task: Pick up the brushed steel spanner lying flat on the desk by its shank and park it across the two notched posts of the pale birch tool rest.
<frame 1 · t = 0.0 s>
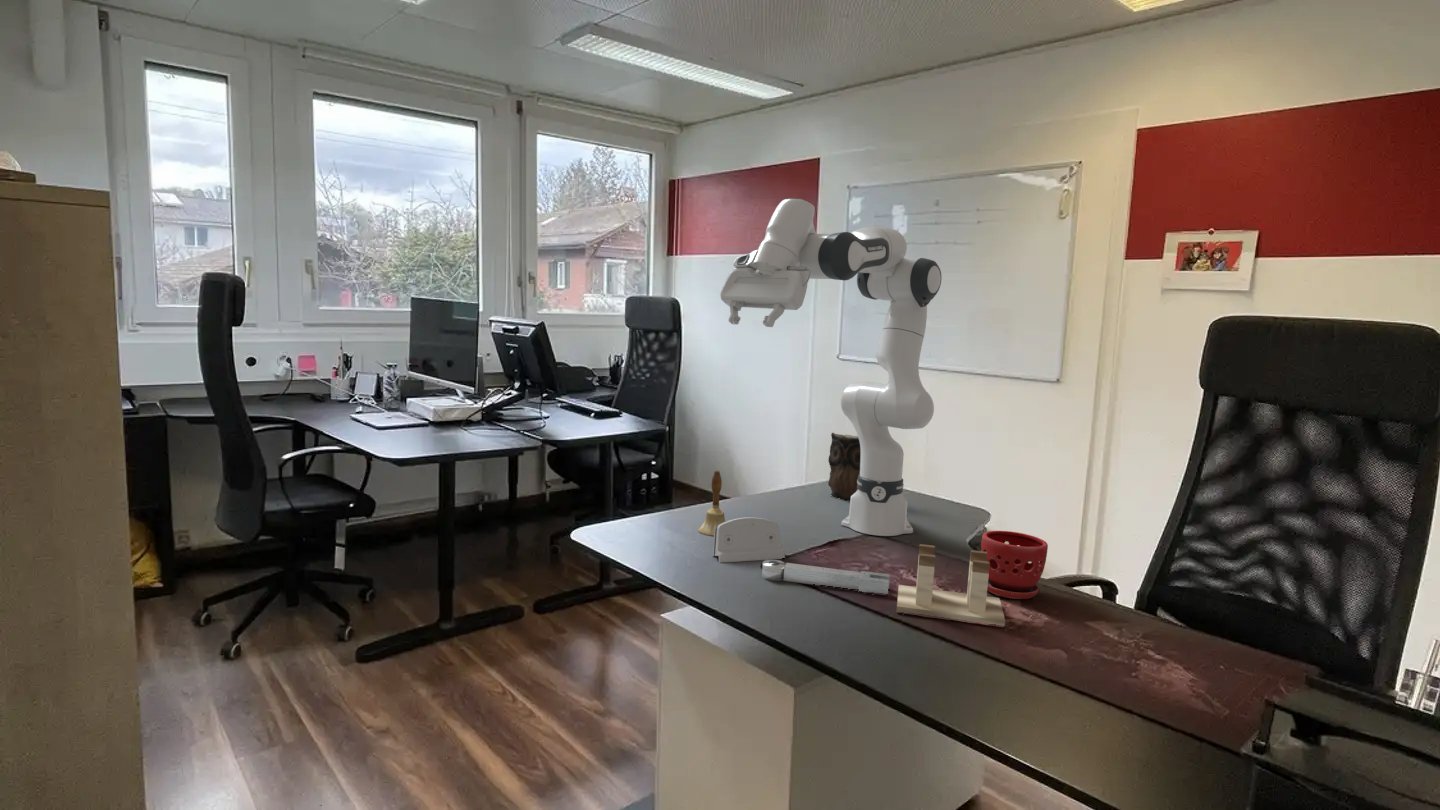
hand: (749, 324, 159), 54 cm above the table, tool tilted 30°, fingers open, 8 cm apart
owl: (853, 497, 240), on the table
hand bell: (714, 532, 199), on the table
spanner: (821, 583, 165), on the table
plant pot: (1009, 592, 165), on the table
tool rest: (948, 609, 154), on the table
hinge: (747, 556, 182), on the table
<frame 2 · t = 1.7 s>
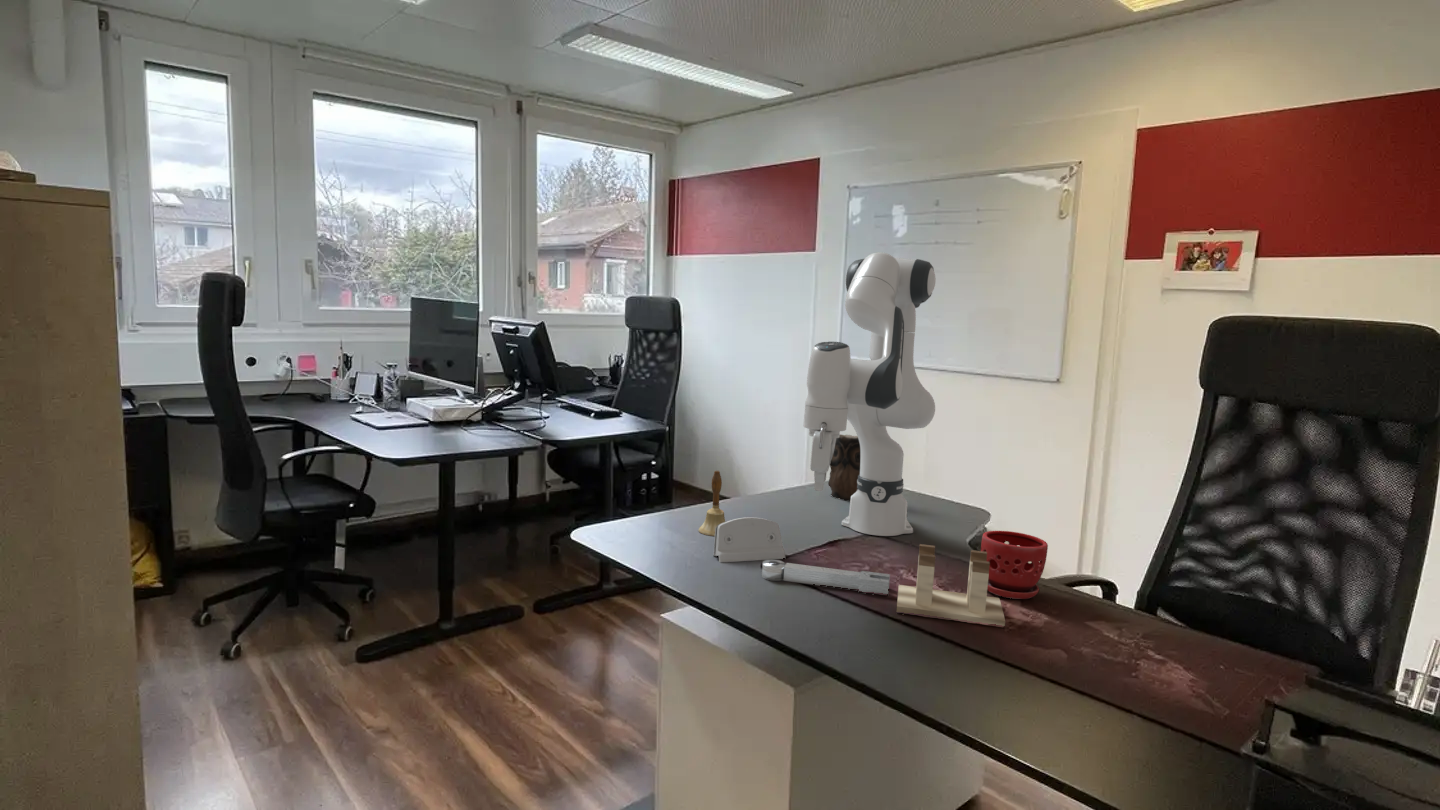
hand: (820, 485, 162), 21 cm above the table, tool pointing down, fingers open, 8 cm apart
nothing on the table moved.
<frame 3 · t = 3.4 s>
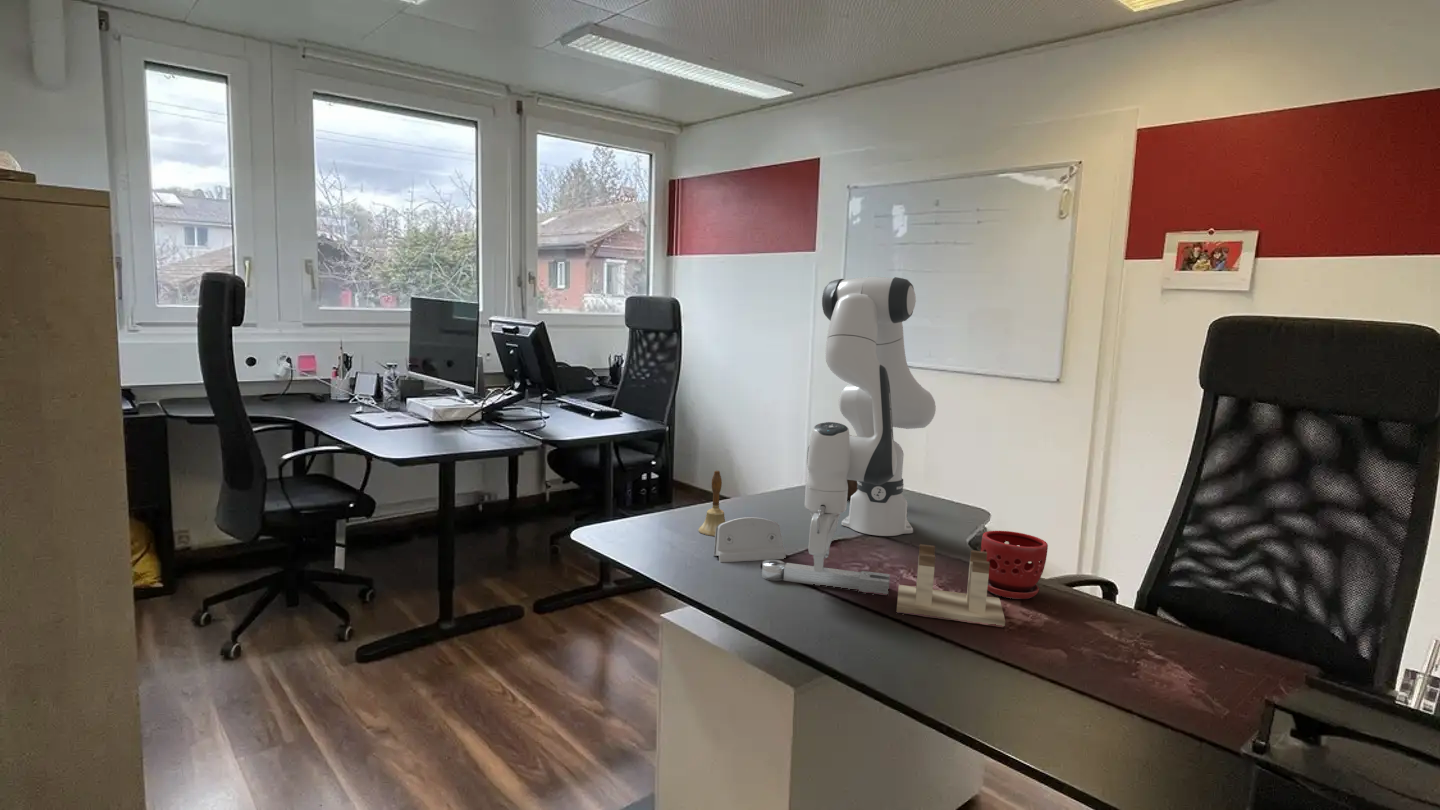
hand: (821, 563, 164), 4 cm above the table, tool pointing down, fingers open, 8 cm apart
nothing on the table moved.
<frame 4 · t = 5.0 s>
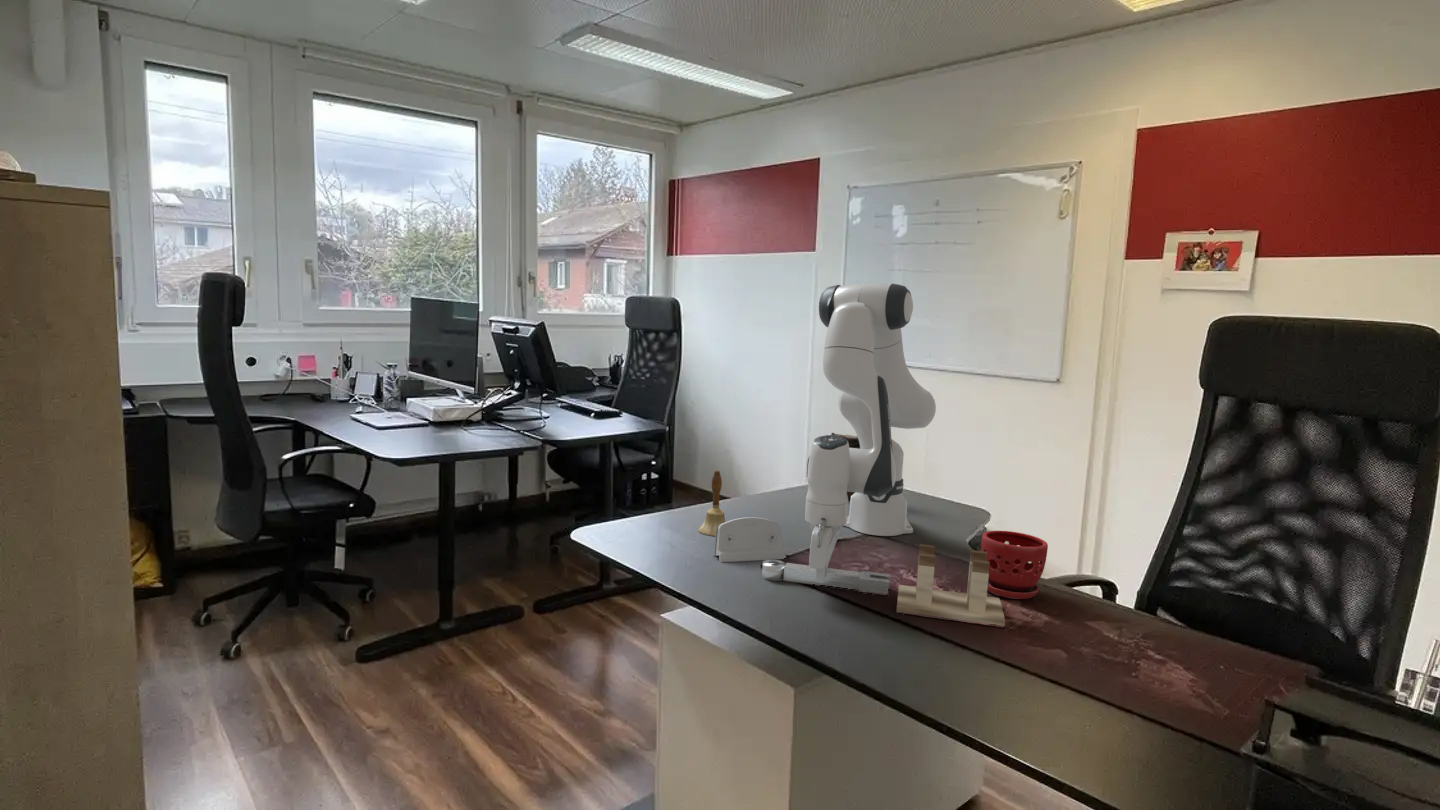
hand: (822, 576, 165), 2 cm above the table, tool pointing down, fingers closed on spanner, 3 cm apart
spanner: (821, 583, 165), on the table, touching gripper
everything else where it was.
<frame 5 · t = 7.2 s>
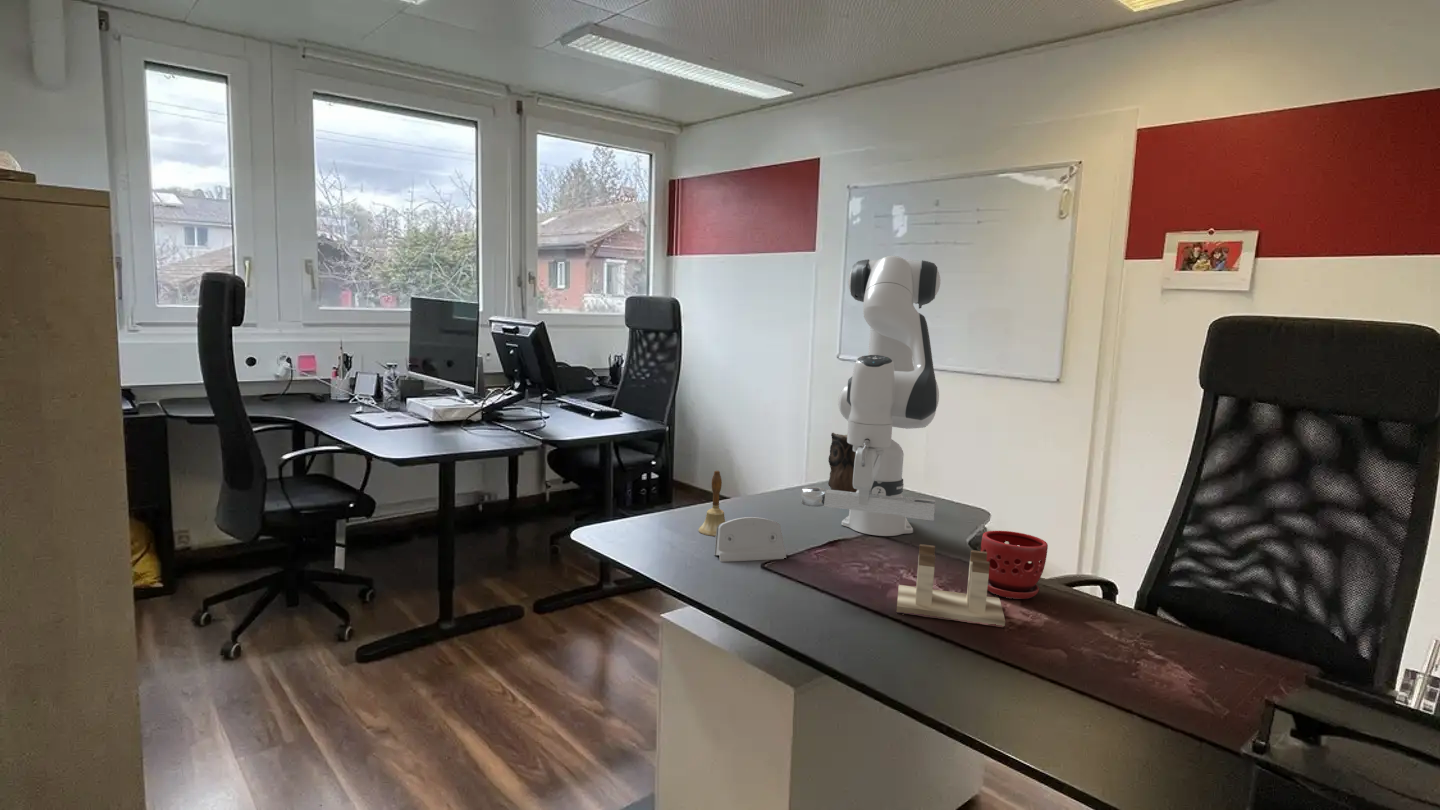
hand: (864, 501, 159), 19 cm above the table, tool pointing down, fingers closed on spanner, 3 cm apart
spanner: (863, 509, 159), point 18 cm above the table, touching gripper
everything else where it was.
when the fingers open (12 cm above the table, at t = 9.4 s): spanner stays where it is, resting on tool rest.
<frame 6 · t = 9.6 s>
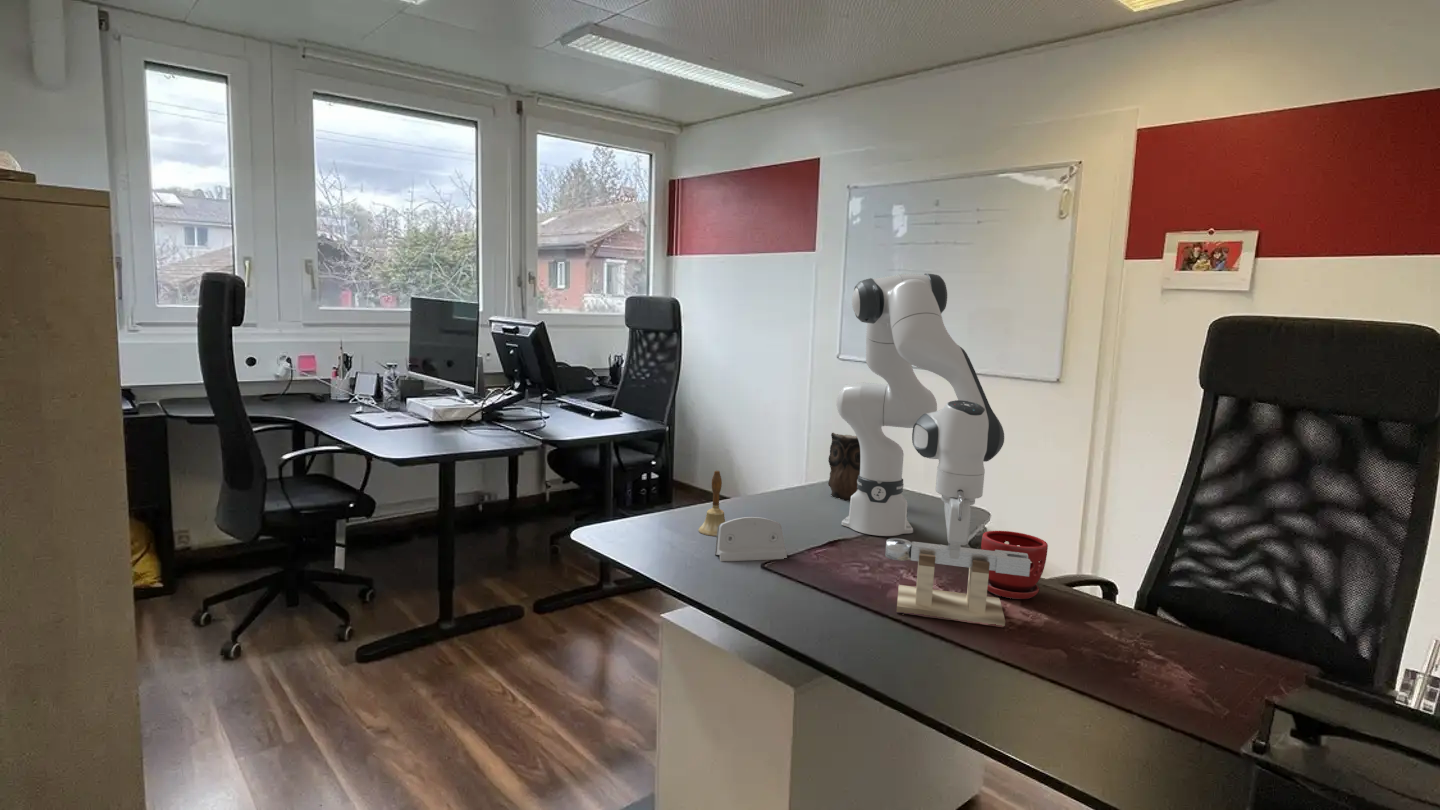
hand: (953, 553, 153), 12 cm above the table, tool pointing down, fingers open, 4 cm apart
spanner: (952, 563, 153), point 9 cm above the table, touching tool rest
everything else where it was.
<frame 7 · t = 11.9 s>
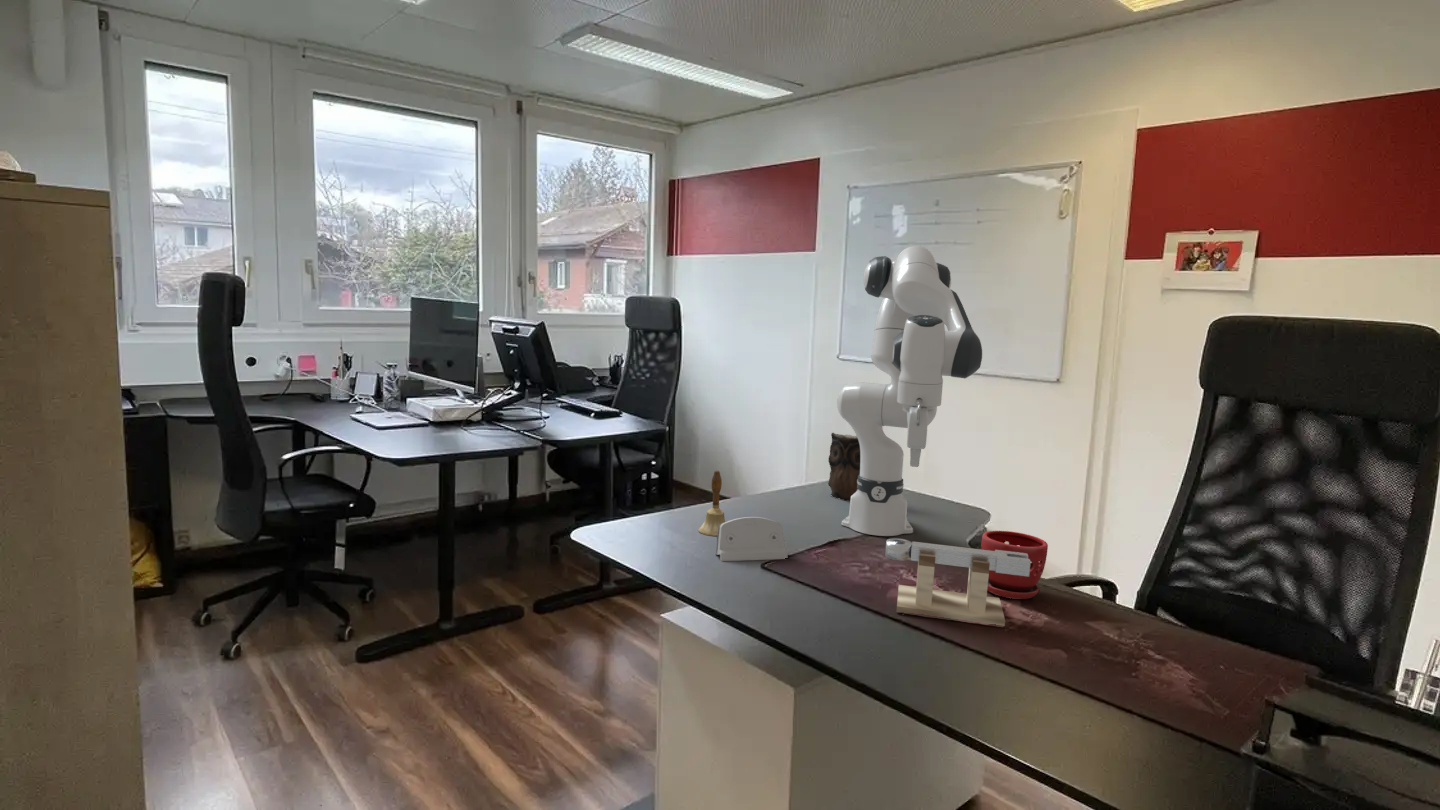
hand: (914, 460, 161), 28 cm above the table, tool pointing down, fingers open, 8 cm apart
nothing on the table moved.
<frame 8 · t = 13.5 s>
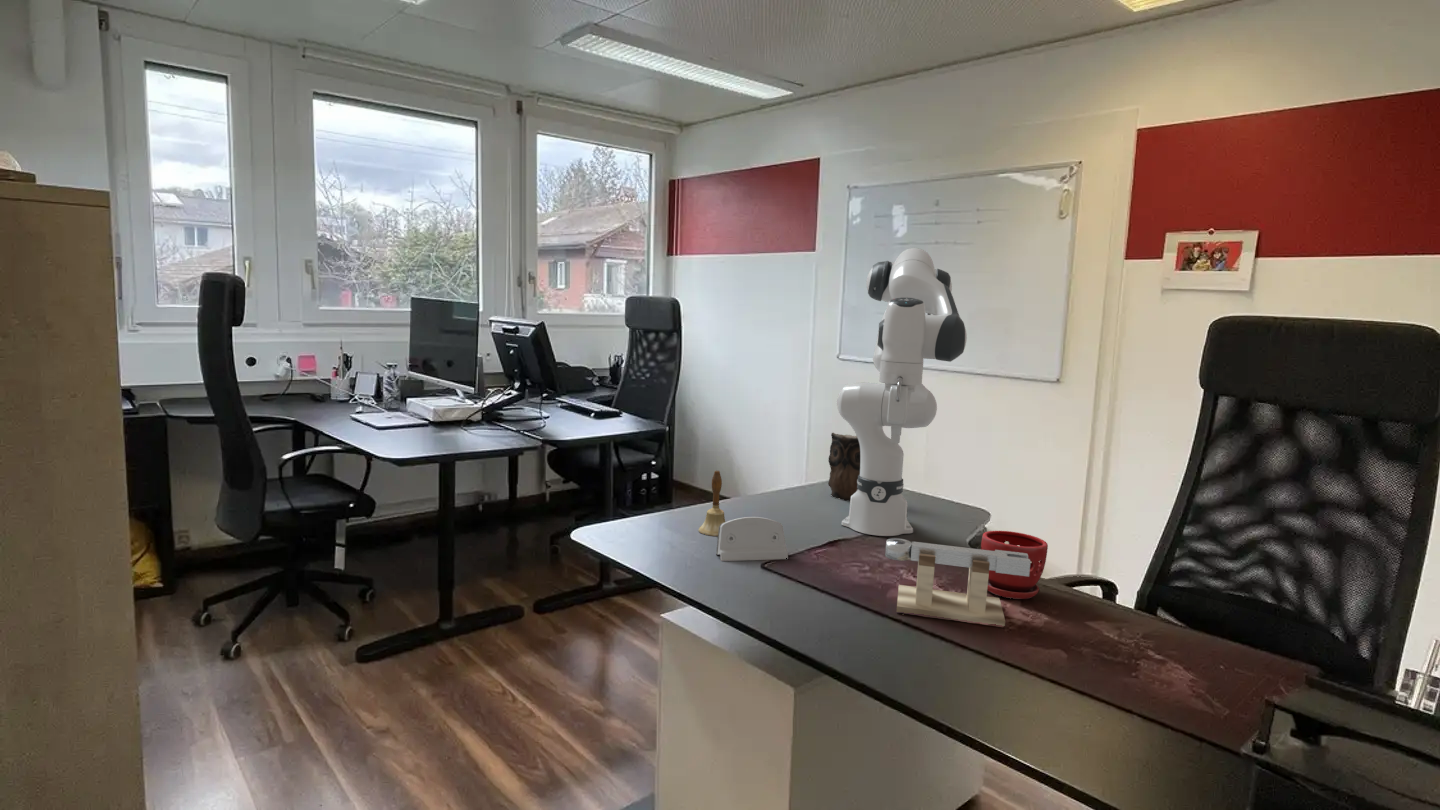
hand: (895, 439, 166), 31 cm above the table, tool pointing down, fingers open, 8 cm apart
nothing on the table moved.
at the end: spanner 0.1 cm off-centre on the tool rest, point 9.5 cm above the tool rest's base; the gripper is holding nothing; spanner tilted 0° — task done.
